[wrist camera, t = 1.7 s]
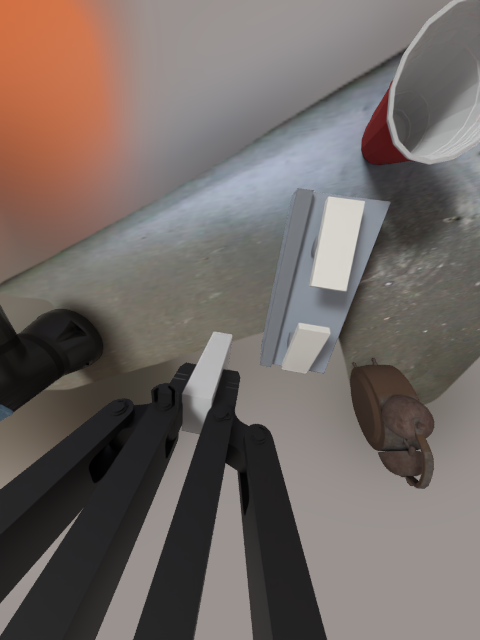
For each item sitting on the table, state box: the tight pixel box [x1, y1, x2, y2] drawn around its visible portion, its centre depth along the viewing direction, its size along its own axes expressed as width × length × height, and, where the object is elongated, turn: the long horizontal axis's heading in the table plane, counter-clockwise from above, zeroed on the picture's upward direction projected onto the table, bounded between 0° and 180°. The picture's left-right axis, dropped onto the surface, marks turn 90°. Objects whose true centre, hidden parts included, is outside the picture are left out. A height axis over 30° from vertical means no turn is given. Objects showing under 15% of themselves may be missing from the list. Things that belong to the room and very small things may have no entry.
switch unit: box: [260, 188, 390, 373], centre depth 34 cm, size 12×28×7 cm, turn 173°
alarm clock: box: [350, 358, 434, 489], centre depth 35 cm, size 15×7×20 cm, turn 11°
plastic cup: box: [361, 0, 480, 165], centre depth 23 cm, size 11×11×12 cm
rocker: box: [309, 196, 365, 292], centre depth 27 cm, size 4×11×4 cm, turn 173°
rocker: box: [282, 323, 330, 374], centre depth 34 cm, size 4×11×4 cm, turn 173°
